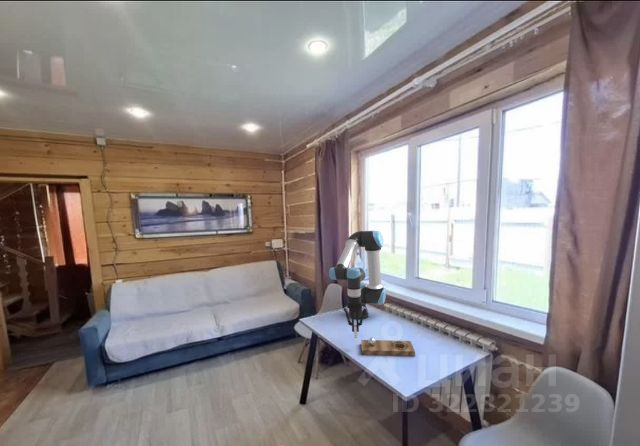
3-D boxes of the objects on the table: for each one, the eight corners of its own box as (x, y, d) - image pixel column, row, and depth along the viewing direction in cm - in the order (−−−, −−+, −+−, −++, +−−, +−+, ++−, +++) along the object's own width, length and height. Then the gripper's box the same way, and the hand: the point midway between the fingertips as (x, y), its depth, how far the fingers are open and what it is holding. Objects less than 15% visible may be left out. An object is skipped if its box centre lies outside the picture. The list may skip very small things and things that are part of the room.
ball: (368, 343, 152) (368, 336, 152) (375, 343, 152) (375, 336, 152) (368, 346, 148) (368, 339, 148) (376, 346, 148) (375, 339, 148)
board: (361, 354, 145) (361, 350, 145) (361, 344, 157) (361, 339, 157) (415, 356, 141) (415, 351, 141) (410, 345, 153) (410, 340, 153)
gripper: (342, 297, 148) (343, 339, 148) (366, 297, 146) (367, 340, 146) (343, 293, 155) (344, 334, 155) (365, 293, 153) (367, 334, 154)
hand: (355, 337), depth 151 cm, fingers closed
